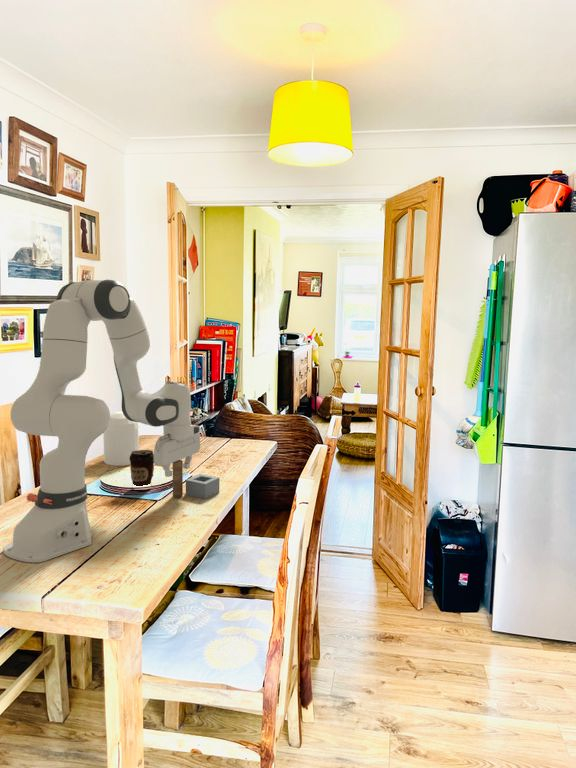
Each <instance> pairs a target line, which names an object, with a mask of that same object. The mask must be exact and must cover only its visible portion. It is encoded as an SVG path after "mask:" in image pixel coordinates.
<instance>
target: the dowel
mask: <svg viewBox="0 0 576 768" xmlns="http://www.w3.org/2000/svg"><path fill="white" fill-rule="evenodd" d="M183 463H184V462H183V459H180V460H178V461H176V462H173V463H172V498H174V499H181V498H183V496H184V495H183V494H184V492H183V488H184V487H183V481H184V480H183V477H184V476H183V475H184V474H183V471H184V468H183Z"/></svg>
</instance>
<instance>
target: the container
mask: <svg viewBox="0 0 576 768" xmlns="http://www.w3.org/2000/svg"><path fill="white" fill-rule="evenodd" d="M139 428H140V425H139V422H133V421H130V420H128V419H127V418H126V417H125V416H124V414H123V412H122V410H120V411H119V410H118V411H116V412H113V413H112V414H110V422H109V425H108V427H107V429H106V430H105V431H104V433H103V463H105V465H109V466H118V467H119V466H131V463H130V455H131V454H132V453H131V452H132V451H138V450H139V449H140V448H139V447H140V445H139V444H140V442H139V441H140V439H139V435H140V433H139Z"/></svg>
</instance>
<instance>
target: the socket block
mask: <svg viewBox="0 0 576 768" xmlns="http://www.w3.org/2000/svg"><path fill="white" fill-rule="evenodd" d="M218 493H220V477H218V476H213V475H207V474H202V473H200V474H197V475H194V476H192V477H189V478H187V479H185V496H191V497H195V498H199V497H200V499H204V498H206V499H209V498H210V497H212V496H214V495H217V494H218Z"/></svg>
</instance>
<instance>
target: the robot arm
mask: <svg viewBox="0 0 576 768" xmlns="http://www.w3.org/2000/svg"><path fill="white" fill-rule="evenodd" d="M55 299H56V300H54V301H52V302H51V303H50V304H49V306H48V309H47V310H46V315H45V320H44V323H43V324H44V325H43V328H42V330H43V331H42V340H41V341H42V342H41V354H40V361H39V368H38V372H37V374H36V377H35V379H34V381H33V382H32V384H31V385H30V387H29V388H28V389H27V390H26V391H25V392H24V393H23V394H21V395H20V396H19V397H17V398H16V399H15V400H14V401H13V403H12V406H11V408H10V420H11V424H12V425H13V427H14V428H15V429H16V430H17V431H19V432H22V433H25V434H29V435H32V436H41V437H42V436H43V437H58V445H57V447H55V448H54V449H51V450H50V451H48V452H47V453H45V454H44V455H43V456H42V458H41V459H40V462H39V483H40V484H39V488H38V491H37V493H36V494H35V493H31V492H29V493H28V494H27V495H26V498H25V499H26V501H28V502H32V503H34V505H33V506H32V508H31V509H30V510H29V511H28V512H27V513H26V514H25V516H23V518H22V519H21V520H20V521H19V522H18V523H17V524H16V525H15V527H14V530H13V532H12V534H13V535H12V542H9V543H8V544H6V545H4V546H3V547H2V553H3V555H5V556H7V557H8V558H11V559H13V560H16V561H20V562H24V563H43V562H46V561H49V560H52V559H53V558H56V557H60V556H62V555H65V554H69V553H71V552H74V551H77V550H79V549H82V548H85V547H89V546H90V545H92V544H93V542H92V541H93V540H92V537H93V530H92V529H91V525H90V521H89V515H88V509H87V501H86V500H87V498H88V491H87V490H88V489H87V487H88V486H87V484H86V483H85V482H86V480H85V479H86V477H85V476H86V475H85V474H86V472H85V470H86V460H87V459H86V457H87V454H88V451H89V449H90V447H91V446H92V444H93V442H95V440H96V439H97V438H99V437H100V436H101V435H104V431H105V430H106V429H107V427H108V425H109V422H110V415H111V412H110V409H109V406H108V404H107V403H106V402H105V401H104V400H103V399H100V398H96V397H93V396H87V395H77V394H76V395H73V394H65V392H66V390H67V387H68V385H69V384H71V382H73V381H75V380H78V379H79V378H80V377H82V375H83V374H85V372H86V370H87V353H88V336H89V335H88V334H89V333H88V327H89V324H90V323H91V321H92V322H99V321H102V322H103V323H104V325H105V328H106V333H107V335H108V339H109V342H110V344H111V348H112V352H113V363H114V367H115V372H116V375H117V380H118V384H119V388H120V391H121V411H122V412H123V414H124V416H125V417H126V418H127V419H128V420H130V421H133V422H138V423H140V424H143V425H146V426H147V425H148V426H151V427H155V428H156V427H157V428H158V427H163V429H162V431H163V434H162V435H163V436H162V435H161V436H159V437H158V439H157V440H156V442H155V445H154V451H153V454H154V465H155V466H158V467H161V468H162V469H163V470H164V476H165V477H166V478H169V477H173V470H171V469H170V468H171V464H173V462H176V461H178V460H183V459H184V462H183V470H184V469H185V470H188V469H190V468H191V461H192V459H193V455H195V454H197V453H199V452H200V449H201V435H200V432H201V426H200V425H195V424H192V419H191V415H190V414H191V410H192V400H191V399H192V398H191V397H192V396H191V390H190V388H189V385H187V384H186V383H183V382H178V381H166V382H165V383H164V385H163V386H162V387H161V388H160V389H159V390H157V391H155V392H153V393H152V394H151V393H149V392H147V391H145V389H143V387H142V385H141V381H140V376H139V372H138V367H137V363H138V361H139V360H141V359H142V358H144V357H145V356H146V355H147V353H148V352H149V350H150V348H151V341H150V335H149V332H148V328H147V326H146V323H145V320H144V317H143V315H142V313H141V310H140V308H139V306H138V305H137V303H136V301H135V299H133V297H131V296H130V294H129V291H128V289H127V288H126V286H125V285H124V284H123V283H121V282H119V281H117V280H112V279H104V280H103V279H102V280H100V279H99V280H98V279H97V280H96V279H95V280H94V279H87V280H81V281H72V282H69V283H67V284H65V285H63V286H62V287H61V288H60V290H59V291H58V293H57V295H56V298H55Z"/></svg>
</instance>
